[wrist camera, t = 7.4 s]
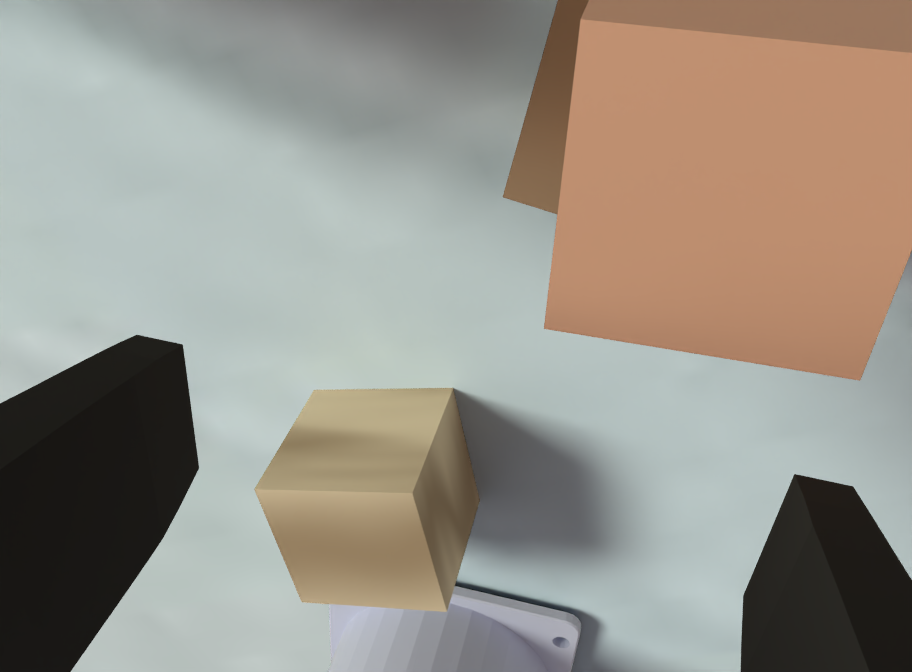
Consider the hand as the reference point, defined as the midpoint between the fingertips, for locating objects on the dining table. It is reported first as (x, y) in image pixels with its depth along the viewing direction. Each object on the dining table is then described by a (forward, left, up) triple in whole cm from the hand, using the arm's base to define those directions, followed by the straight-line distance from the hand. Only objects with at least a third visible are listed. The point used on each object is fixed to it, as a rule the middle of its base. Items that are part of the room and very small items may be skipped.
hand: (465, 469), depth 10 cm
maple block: (-9, +3, -10) cm, 14 cm away
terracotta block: (+3, -3, -7) cm, 8 cm away
